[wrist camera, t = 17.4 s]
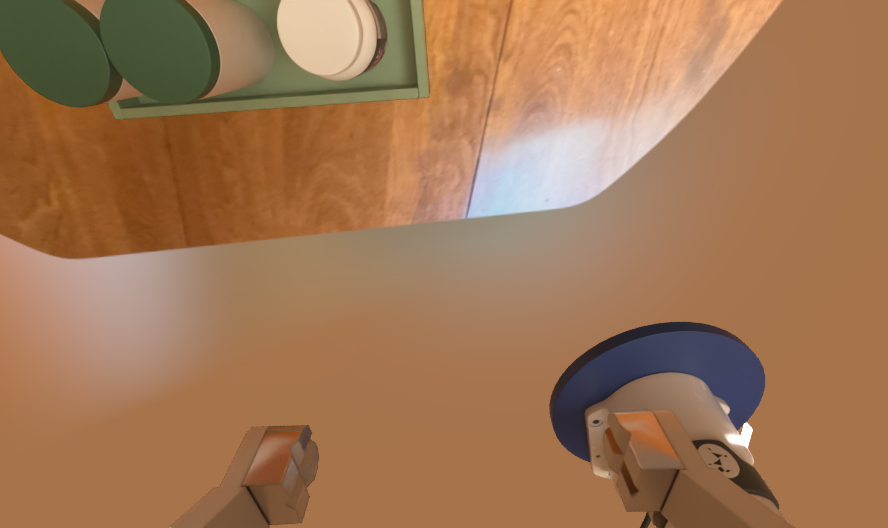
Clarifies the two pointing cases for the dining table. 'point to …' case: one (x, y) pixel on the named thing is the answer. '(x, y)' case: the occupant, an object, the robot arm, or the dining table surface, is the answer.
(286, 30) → the pill bottle
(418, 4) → the bottle tray
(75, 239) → the dining table surface
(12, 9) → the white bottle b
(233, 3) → the white bottle
